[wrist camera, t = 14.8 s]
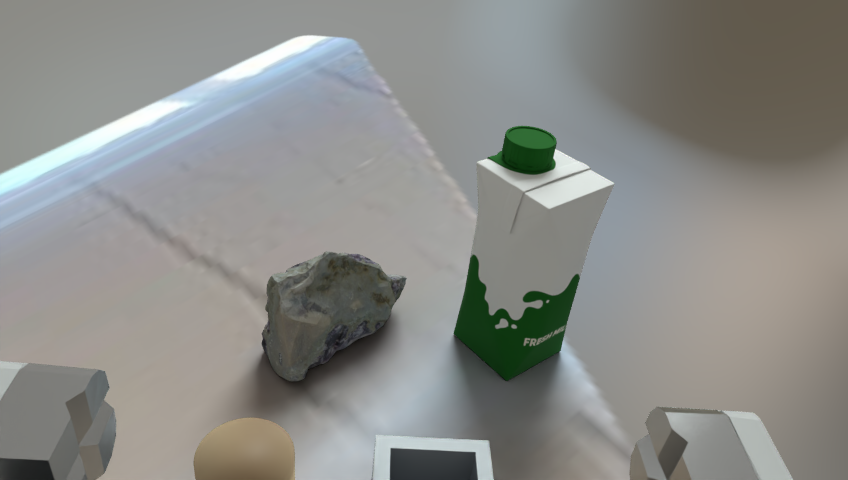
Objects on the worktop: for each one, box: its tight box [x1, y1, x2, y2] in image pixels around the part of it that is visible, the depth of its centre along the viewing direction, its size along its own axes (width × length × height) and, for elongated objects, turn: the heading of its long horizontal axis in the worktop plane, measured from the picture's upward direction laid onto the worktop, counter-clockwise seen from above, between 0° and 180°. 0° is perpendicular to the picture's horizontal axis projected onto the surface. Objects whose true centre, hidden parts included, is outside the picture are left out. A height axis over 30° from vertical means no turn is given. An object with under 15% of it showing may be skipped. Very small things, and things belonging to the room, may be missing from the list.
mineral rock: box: [262, 252, 407, 381], centre depth 59 cm, size 13×11×10 cm
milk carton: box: [454, 126, 614, 381], centre depth 58 cm, size 9×9×20 cm
